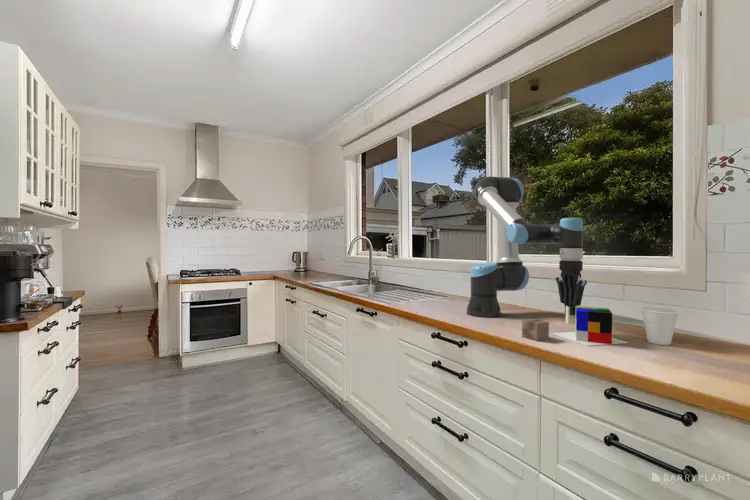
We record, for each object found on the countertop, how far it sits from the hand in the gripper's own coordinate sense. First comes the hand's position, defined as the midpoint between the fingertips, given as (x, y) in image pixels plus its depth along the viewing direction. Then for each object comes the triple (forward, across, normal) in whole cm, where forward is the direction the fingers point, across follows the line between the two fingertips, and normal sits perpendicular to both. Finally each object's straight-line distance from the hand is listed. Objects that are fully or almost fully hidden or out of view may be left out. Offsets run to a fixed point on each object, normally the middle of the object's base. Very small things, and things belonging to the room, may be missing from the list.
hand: (569, 323), depth 133 cm
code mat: (+3, +9, 0) cm, 9 cm away
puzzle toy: (+3, +10, 0) cm, 11 cm away
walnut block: (+3, +5, -18) cm, 19 cm away
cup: (+3, +19, +18) cm, 26 cm away
